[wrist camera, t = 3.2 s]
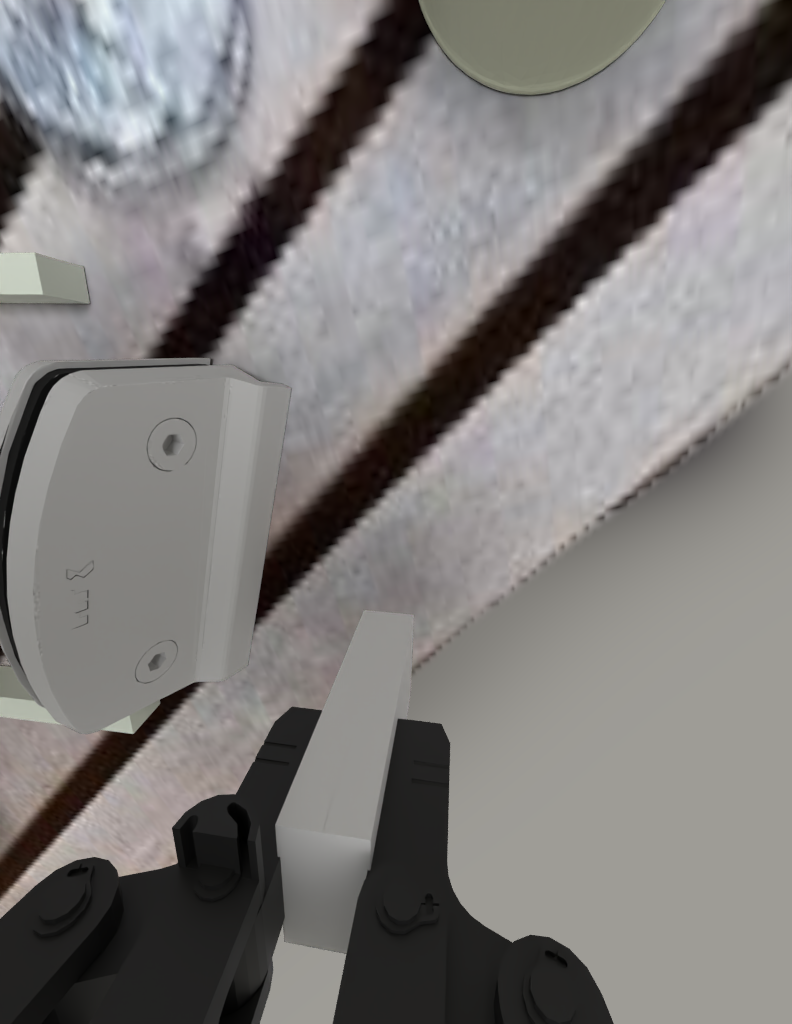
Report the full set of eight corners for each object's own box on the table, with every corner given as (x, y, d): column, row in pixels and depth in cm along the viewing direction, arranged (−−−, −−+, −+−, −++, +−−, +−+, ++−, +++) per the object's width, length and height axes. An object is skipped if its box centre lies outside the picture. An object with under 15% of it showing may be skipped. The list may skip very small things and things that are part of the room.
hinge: (247, 670, 25) (50, 806, 16) (191, 634, 27) (-15, 738, 18) (293, 379, 20) (36, 349, 11) (218, 356, 21) (-54, 315, 13)
